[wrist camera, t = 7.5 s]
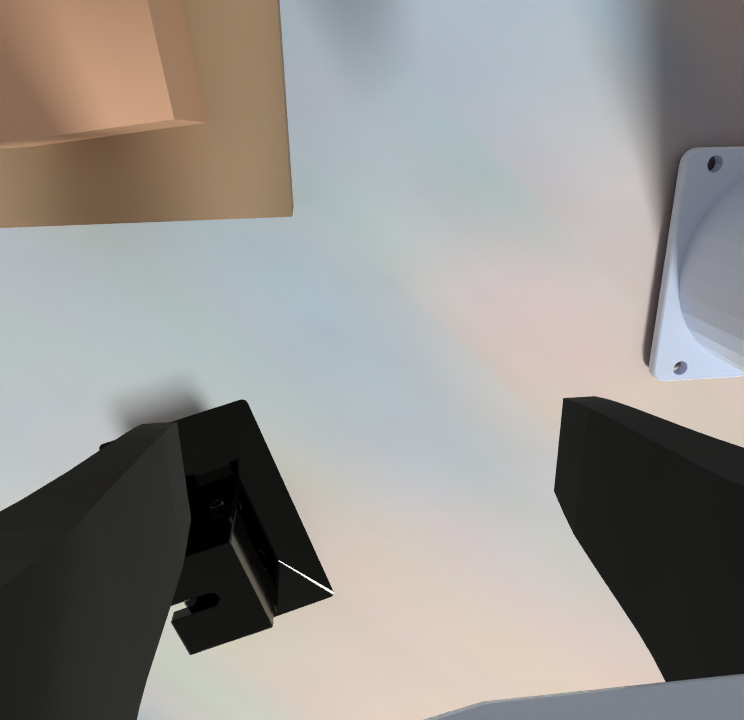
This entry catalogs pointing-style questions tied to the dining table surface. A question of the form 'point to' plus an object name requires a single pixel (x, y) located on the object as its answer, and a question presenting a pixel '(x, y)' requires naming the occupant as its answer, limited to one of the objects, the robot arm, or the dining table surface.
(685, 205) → the robot arm
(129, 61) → the terracotta cube
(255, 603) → the black slotted bracket
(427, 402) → the dining table surface
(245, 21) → the walnut slab
